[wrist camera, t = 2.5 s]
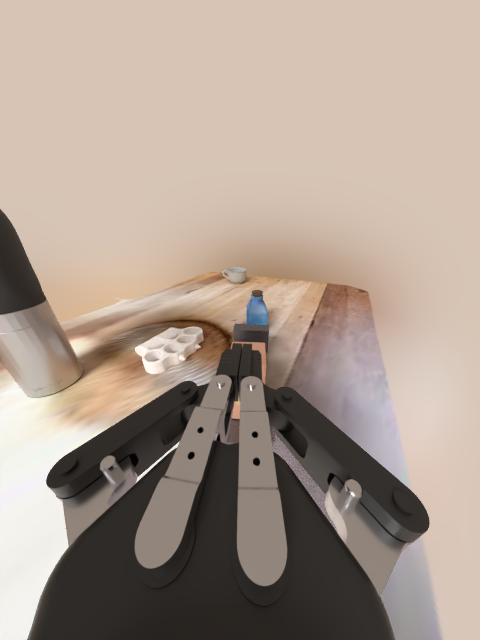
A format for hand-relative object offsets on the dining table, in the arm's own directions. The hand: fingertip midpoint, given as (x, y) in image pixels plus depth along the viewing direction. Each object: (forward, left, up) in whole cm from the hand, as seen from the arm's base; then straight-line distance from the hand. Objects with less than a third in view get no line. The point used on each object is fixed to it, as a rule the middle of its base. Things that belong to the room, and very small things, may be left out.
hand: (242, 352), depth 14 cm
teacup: (-82, +50, -20) cm, 98 cm away
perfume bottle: (-31, +26, -20) cm, 45 cm away
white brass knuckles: (-34, 0, -20) cm, 39 cm away
